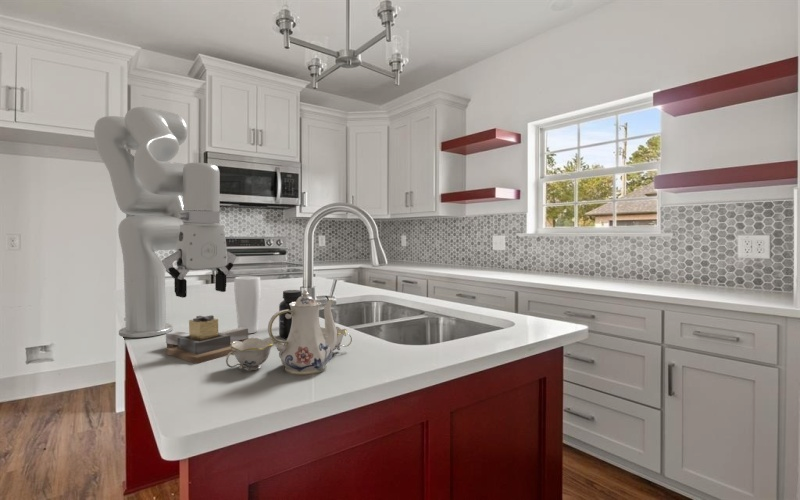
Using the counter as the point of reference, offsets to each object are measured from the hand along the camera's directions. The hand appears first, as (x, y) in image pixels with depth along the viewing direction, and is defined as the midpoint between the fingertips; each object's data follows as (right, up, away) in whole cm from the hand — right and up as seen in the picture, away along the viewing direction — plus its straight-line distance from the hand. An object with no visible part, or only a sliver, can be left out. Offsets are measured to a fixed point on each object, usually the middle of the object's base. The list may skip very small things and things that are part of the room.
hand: (201, 293), depth 100 cm
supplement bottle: (+17, -13, +16) cm, 27 cm away
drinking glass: (+4, -13, +20) cm, 24 cm away
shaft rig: (0, -13, +4) cm, 14 cm away
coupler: (0, -12, 0) cm, 12 cm away
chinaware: (+24, -15, -7) cm, 29 cm away
